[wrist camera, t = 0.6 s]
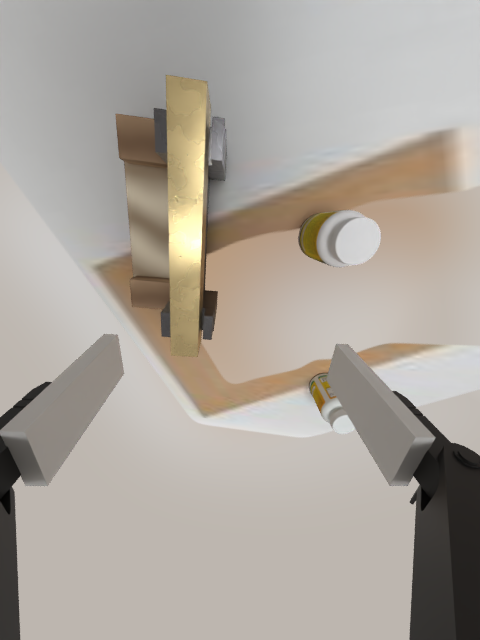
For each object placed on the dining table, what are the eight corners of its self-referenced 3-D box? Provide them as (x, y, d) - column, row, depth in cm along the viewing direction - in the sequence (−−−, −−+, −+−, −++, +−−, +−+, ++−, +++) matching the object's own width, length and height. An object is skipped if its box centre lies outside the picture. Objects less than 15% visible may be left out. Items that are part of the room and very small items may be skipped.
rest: (122, 124, 27) (110, 112, 24) (182, 132, 28) (177, 122, 25) (136, 300, 36) (128, 306, 33) (181, 303, 36) (177, 310, 33)
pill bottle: (299, 261, 35) (328, 278, 24) (295, 217, 32) (326, 215, 22) (340, 253, 34) (387, 266, 24) (339, 208, 32) (391, 202, 22)
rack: (178, 141, 28) (152, 99, 19) (227, 148, 29) (226, 111, 19) (178, 309, 37) (161, 340, 27) (216, 312, 37) (212, 343, 27)
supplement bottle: (326, 367, 42) (351, 405, 33) (341, 384, 44) (370, 424, 35) (302, 384, 44) (321, 425, 35) (318, 399, 45) (340, 442, 36)
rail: (177, 101, 20) (165, 74, 17) (210, 106, 21) (206, 81, 17) (178, 339, 30) (170, 355, 26) (201, 340, 30) (197, 356, 26)
